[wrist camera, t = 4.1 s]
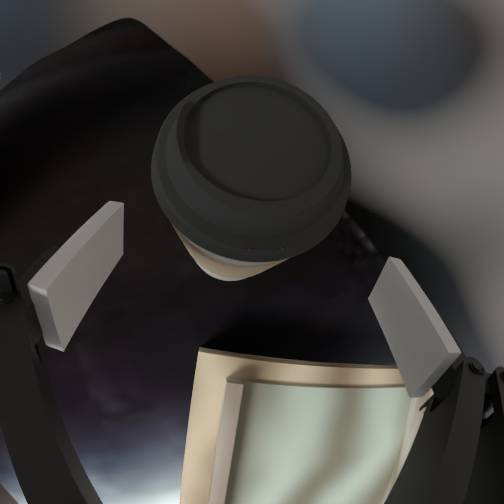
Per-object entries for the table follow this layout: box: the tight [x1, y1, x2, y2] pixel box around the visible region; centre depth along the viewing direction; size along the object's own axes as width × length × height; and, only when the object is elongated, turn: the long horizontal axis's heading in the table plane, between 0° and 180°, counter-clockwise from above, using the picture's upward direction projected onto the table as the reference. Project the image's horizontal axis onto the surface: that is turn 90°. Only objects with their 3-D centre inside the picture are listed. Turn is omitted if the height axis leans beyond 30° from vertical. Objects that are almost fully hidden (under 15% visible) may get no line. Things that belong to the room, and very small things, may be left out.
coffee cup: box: [151, 76, 351, 281], centre depth 18 cm, size 9×9×15 cm
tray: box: [180, 347, 434, 504], centre depth 18 cm, size 20×18×6 cm
